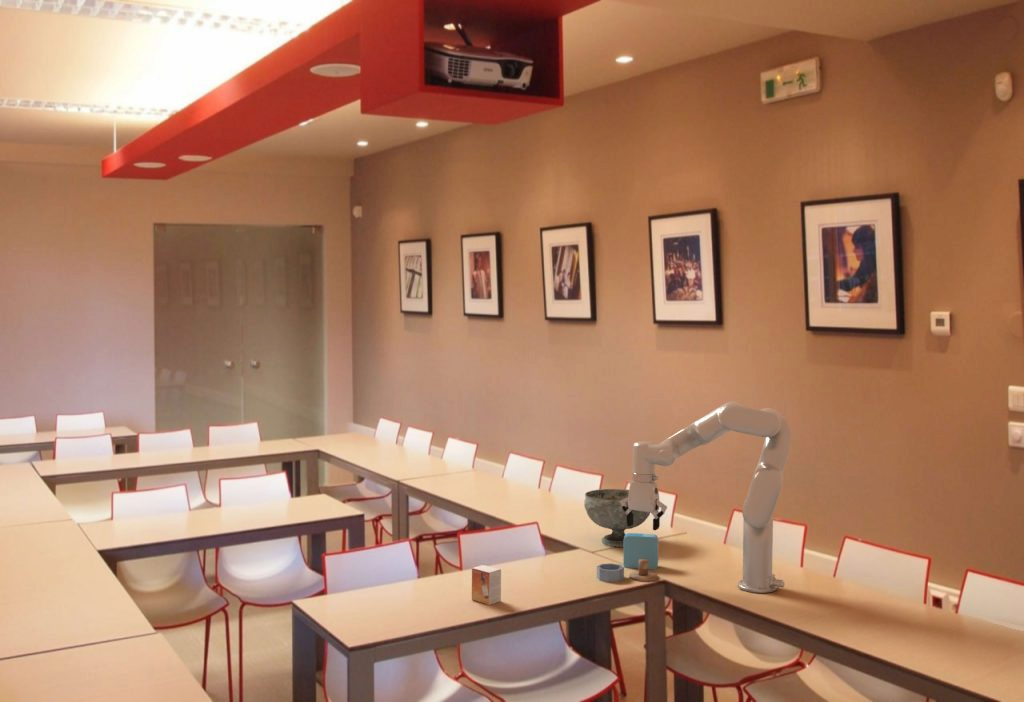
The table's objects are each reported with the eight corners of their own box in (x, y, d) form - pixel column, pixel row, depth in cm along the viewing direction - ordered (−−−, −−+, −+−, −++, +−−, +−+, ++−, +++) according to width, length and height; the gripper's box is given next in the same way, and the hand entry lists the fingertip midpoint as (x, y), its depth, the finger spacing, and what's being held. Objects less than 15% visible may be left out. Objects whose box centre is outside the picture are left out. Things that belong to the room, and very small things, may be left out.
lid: (661, 576, 338) (662, 559, 337) (649, 583, 330) (649, 565, 329) (637, 572, 343) (637, 555, 343) (624, 578, 335) (624, 561, 335)
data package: (658, 567, 351) (658, 534, 351) (657, 570, 347) (657, 537, 346) (624, 565, 354) (624, 532, 353) (623, 569, 349) (623, 535, 348)
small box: (471, 600, 314) (471, 567, 313) (483, 596, 318) (483, 564, 317) (489, 605, 308) (489, 572, 308) (501, 601, 313) (501, 568, 312)
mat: (658, 578, 337) (659, 576, 337) (648, 583, 331) (648, 582, 331) (638, 574, 342) (638, 572, 342) (627, 580, 335) (627, 578, 335)
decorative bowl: (595, 551, 370) (597, 499, 370) (574, 537, 395) (576, 487, 395) (660, 550, 377) (662, 498, 376) (636, 535, 402) (637, 487, 401)
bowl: (627, 578, 337) (627, 565, 336) (615, 585, 330) (615, 571, 329) (605, 574, 342) (605, 562, 341) (593, 580, 334) (593, 567, 334)
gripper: (671, 479, 333) (670, 529, 334) (626, 473, 342) (625, 522, 343) (661, 482, 326) (661, 533, 327) (615, 476, 336) (615, 526, 337)
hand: (642, 527), depth 335 cm, fingers open, 9 cm apart
